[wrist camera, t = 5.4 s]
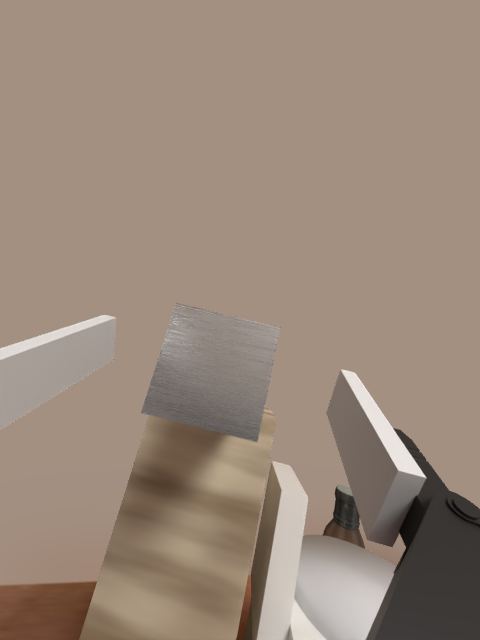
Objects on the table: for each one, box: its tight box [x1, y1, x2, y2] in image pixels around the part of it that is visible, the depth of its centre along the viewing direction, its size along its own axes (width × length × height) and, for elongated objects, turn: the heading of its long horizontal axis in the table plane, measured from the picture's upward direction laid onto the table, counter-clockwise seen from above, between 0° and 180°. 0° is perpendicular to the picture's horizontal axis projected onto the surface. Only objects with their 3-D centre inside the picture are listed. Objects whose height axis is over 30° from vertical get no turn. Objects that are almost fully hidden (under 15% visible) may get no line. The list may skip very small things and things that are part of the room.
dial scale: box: [251, 461, 396, 640], centre depth 20 cm, size 13×15×10 cm
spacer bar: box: [141, 303, 280, 442], centre depth 23 cm, size 30×4×4 cm, turn 0°
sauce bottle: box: [323, 485, 365, 549], centre depth 38 cm, size 6×6×20 cm
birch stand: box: [79, 406, 277, 640], centre depth 25 cm, size 18×10×32 cm, turn 178°
